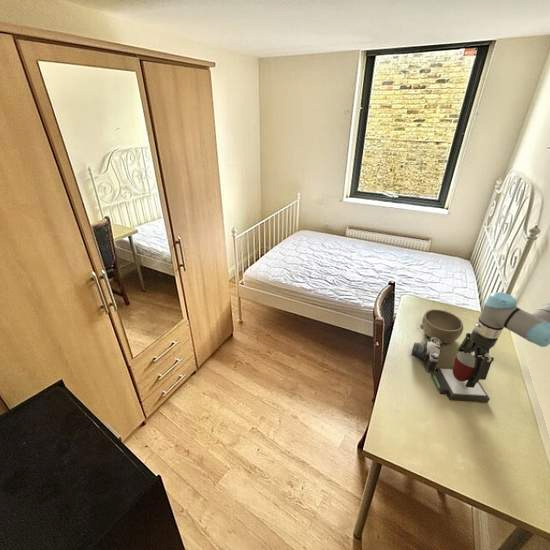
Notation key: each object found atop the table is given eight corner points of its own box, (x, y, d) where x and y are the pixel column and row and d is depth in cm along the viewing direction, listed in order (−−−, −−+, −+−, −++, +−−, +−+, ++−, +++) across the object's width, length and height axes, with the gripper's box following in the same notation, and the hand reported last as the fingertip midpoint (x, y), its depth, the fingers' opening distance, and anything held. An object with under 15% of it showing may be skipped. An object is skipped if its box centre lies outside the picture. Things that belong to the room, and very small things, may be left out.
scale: (487, 403, 110) (490, 397, 109) (442, 399, 111) (445, 394, 109) (468, 374, 122) (471, 368, 121) (428, 371, 123) (430, 366, 122)
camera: (412, 344, 137) (417, 327, 133) (436, 351, 133) (443, 334, 129) (409, 366, 125) (415, 349, 120) (435, 375, 121) (442, 357, 116)
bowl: (413, 336, 142) (419, 320, 137) (424, 319, 154) (430, 304, 149) (452, 353, 132) (460, 336, 128) (461, 334, 144) (468, 318, 140)
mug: (477, 376, 115) (487, 358, 110) (479, 391, 109) (490, 373, 104) (447, 366, 119) (455, 348, 114) (448, 381, 113) (456, 363, 108)
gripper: (460, 314, 112) (442, 357, 123) (491, 353, 94) (467, 399, 105) (480, 315, 112) (461, 358, 123) (516, 354, 94) (488, 401, 105)
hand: (463, 377), depth 114 cm, fingers closed on mug, 8 cm apart
